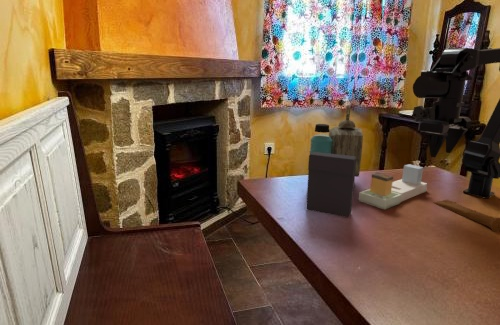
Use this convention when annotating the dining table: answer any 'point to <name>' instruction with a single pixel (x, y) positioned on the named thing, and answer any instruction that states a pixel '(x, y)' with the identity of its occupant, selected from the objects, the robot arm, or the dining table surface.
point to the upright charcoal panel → (331, 183)
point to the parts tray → (379, 199)
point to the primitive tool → (471, 214)
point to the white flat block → (408, 189)
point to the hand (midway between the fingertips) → (440, 154)
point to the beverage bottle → (321, 140)
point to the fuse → (412, 174)
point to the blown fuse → (381, 185)
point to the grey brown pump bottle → (347, 140)
